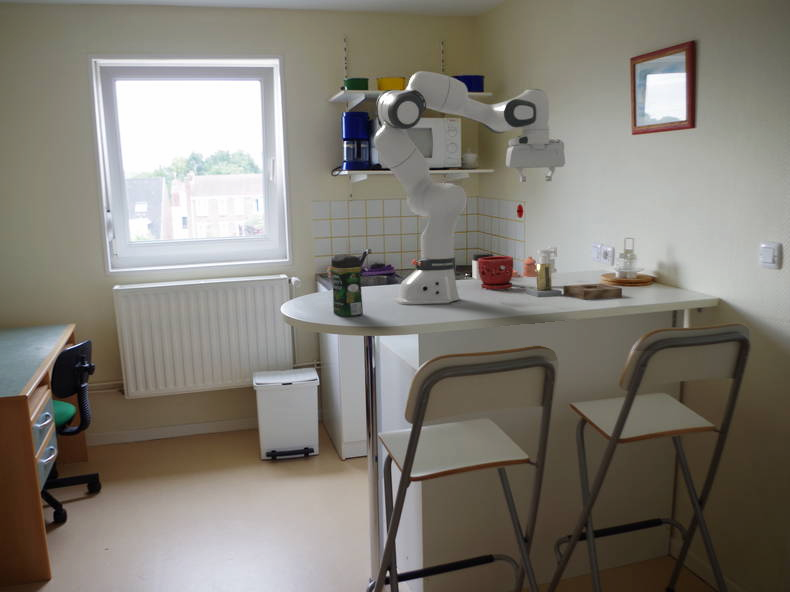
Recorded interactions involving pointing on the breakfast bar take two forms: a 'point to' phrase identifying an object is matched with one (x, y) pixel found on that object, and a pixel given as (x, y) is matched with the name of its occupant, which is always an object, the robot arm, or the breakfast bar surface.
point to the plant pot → (496, 272)
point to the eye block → (592, 291)
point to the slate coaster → (544, 292)
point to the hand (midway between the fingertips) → (535, 181)
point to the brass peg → (543, 276)
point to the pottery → (527, 268)
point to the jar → (475, 263)
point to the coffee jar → (347, 286)
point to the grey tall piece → (549, 257)
